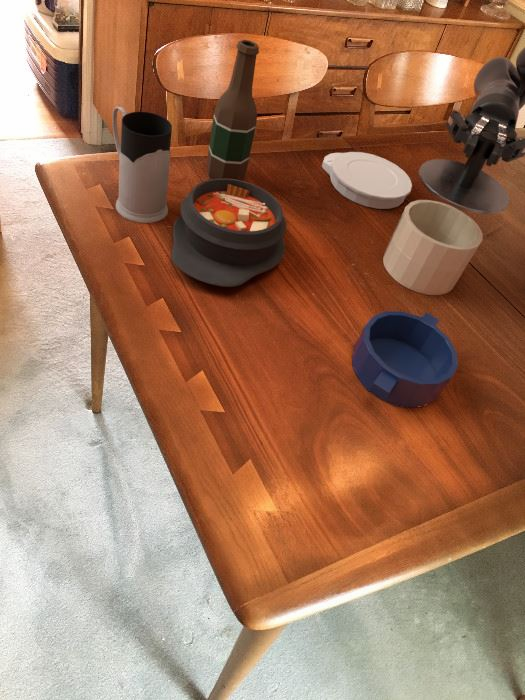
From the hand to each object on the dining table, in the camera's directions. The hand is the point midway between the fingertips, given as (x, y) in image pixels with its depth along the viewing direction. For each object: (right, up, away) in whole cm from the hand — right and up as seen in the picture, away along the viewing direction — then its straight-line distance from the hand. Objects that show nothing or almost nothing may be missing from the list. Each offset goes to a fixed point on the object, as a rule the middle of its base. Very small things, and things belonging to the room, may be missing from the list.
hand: (481, 155), depth 81 cm
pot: (-4, -14, +19) cm, 24 cm away
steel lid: (0, -3, +7) cm, 7 cm away
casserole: (-37, -11, +12) cm, 41 cm away
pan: (-12, -31, +1) cm, 33 cm away
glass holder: (-54, -2, +16) cm, 56 cm away
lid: (-11, +7, +36) cm, 39 cm away
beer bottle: (-39, +6, +27) cm, 48 cm away
